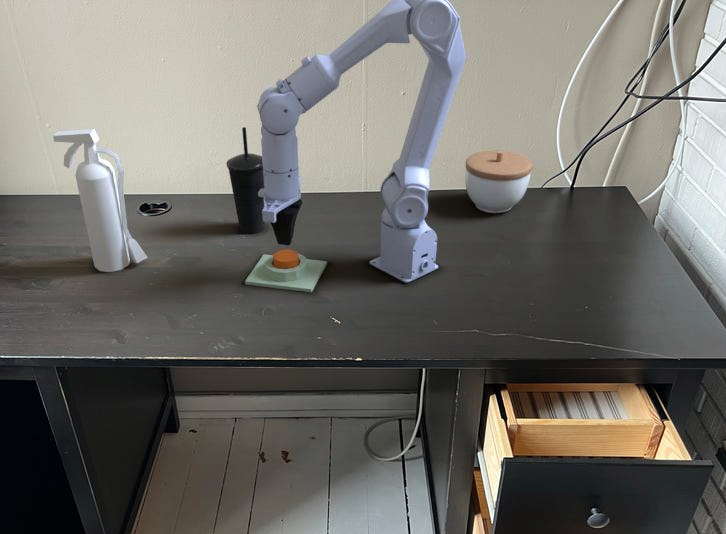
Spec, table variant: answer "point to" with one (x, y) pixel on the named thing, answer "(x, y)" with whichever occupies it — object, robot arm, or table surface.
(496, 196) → the lidded bowl
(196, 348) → the table surface
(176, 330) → the table surface
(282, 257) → the button
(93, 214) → the fire extinguisher
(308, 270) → the button block
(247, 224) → the drinking cup
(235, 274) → the table surface
